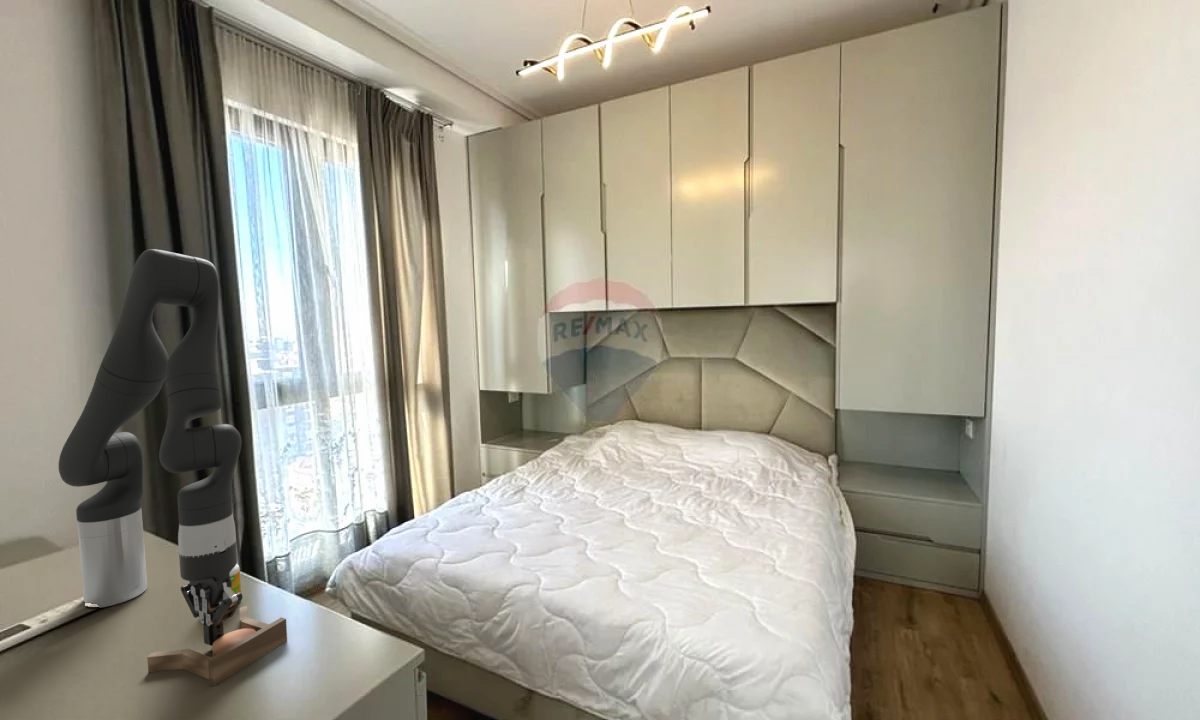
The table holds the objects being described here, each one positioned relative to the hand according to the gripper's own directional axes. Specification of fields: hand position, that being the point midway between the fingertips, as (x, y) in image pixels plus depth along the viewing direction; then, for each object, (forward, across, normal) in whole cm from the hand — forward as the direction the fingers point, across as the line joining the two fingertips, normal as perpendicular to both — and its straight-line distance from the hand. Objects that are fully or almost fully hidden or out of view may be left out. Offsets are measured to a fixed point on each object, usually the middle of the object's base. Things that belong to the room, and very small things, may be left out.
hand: (214, 642), depth 84 cm
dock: (+1, +3, 0) cm, 3 cm away
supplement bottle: (+1, -12, +9) cm, 15 cm away
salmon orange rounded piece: (+1, +5, 0) cm, 5 cm away
